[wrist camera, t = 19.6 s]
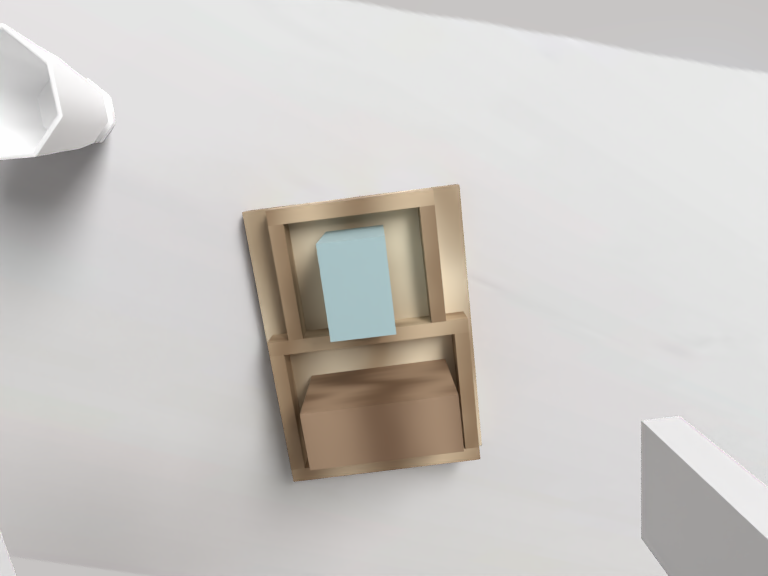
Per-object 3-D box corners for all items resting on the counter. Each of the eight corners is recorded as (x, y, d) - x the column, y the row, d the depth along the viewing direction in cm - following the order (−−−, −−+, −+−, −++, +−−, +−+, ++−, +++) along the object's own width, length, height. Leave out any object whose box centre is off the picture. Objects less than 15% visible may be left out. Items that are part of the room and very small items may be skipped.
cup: (125, 179, 34) (51, 181, 26) (-22, 133, 33) (-143, 122, 25) (145, 76, 33) (73, 46, 25) (-8, 25, 32) (-134, -22, 24)
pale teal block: (338, 313, 35) (330, 342, 30) (325, 231, 34) (315, 244, 28) (392, 307, 35) (396, 334, 30) (382, 224, 34) (384, 236, 28)
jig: (293, 459, 39) (287, 482, 37) (246, 211, 35) (234, 214, 32) (478, 437, 39) (486, 458, 36) (456, 184, 35) (463, 185, 32)
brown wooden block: (320, 423, 37) (310, 470, 32) (311, 375, 37) (299, 414, 31) (450, 407, 37) (464, 451, 32) (444, 358, 36) (458, 394, 31)
